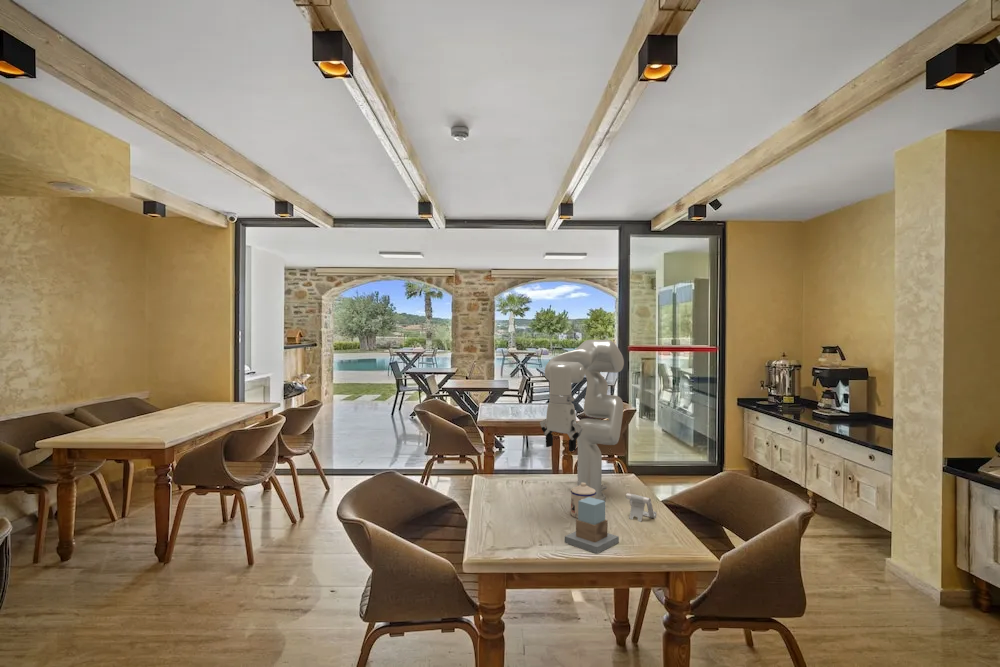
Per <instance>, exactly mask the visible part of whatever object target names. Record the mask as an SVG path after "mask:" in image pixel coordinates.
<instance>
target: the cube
mask: <svg viewBox="0 0 1000 667" xmlns="http://www.w3.org/2000/svg"><path fill="white" fill-rule="evenodd" d="M577 520H579V521H583V522H586V523H589V524H593V525H596V524H598V523H600V522H602V521H605V520H606V500H599V499H595V498H591V497H588V498H585V499H582V500H580V501H578V518H577Z"/></svg>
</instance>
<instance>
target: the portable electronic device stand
mask: <svg viewBox="0 0 1000 667" xmlns="http://www.w3.org/2000/svg"><path fill="white" fill-rule="evenodd" d="M625 499H626V500H629V503H630V511H629V518H628V519H630V520H633V519H634V517H636V518H637V522H640V523H642V521H643V517H648V518H651V519H656V518H657V516H658V514H657V511H654V508H653V504H652V500H651V497H648V496H647V497H646V496H642V495H639V494H635V493H629V492H627V493H626V494H625ZM645 506H646V507H647V511H645ZM633 521H634V520H633Z"/></svg>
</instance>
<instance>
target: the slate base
mask: <svg viewBox="0 0 1000 667" xmlns="http://www.w3.org/2000/svg"><path fill="white" fill-rule="evenodd" d="M619 538H620V537H619V535H616V534H612V533H609V532H607V537H605V538H603V539H601V540H599V541H597V542H592V541H589V540H586V539H583V538H580V537H577V536H576V530H575V531H573V532H570V533H569V534H567V535H565V536H564V544H568V545H571V546H573V547H577V548H579V549H582V550H585V551H588V552H591V553H594V554H596V555H598V554H599V553H601V552H604V551H605V550H607V549H610V548H612V547H613V546H615V545H618V544H619V540H620V539H619Z"/></svg>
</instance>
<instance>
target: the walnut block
mask: <svg viewBox="0 0 1000 667" xmlns="http://www.w3.org/2000/svg"><path fill="white" fill-rule="evenodd" d="M575 531H576V536H577V537H580V538H583V539H586V540H589V541H592V542H597V541H599V540H601V539H603V538H605V537H607V533H608V519H605V521H602V522H600V523H598V524H596V525H593V524H589V523H586V522H583V521H579V520H578V519H576V520H575Z"/></svg>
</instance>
